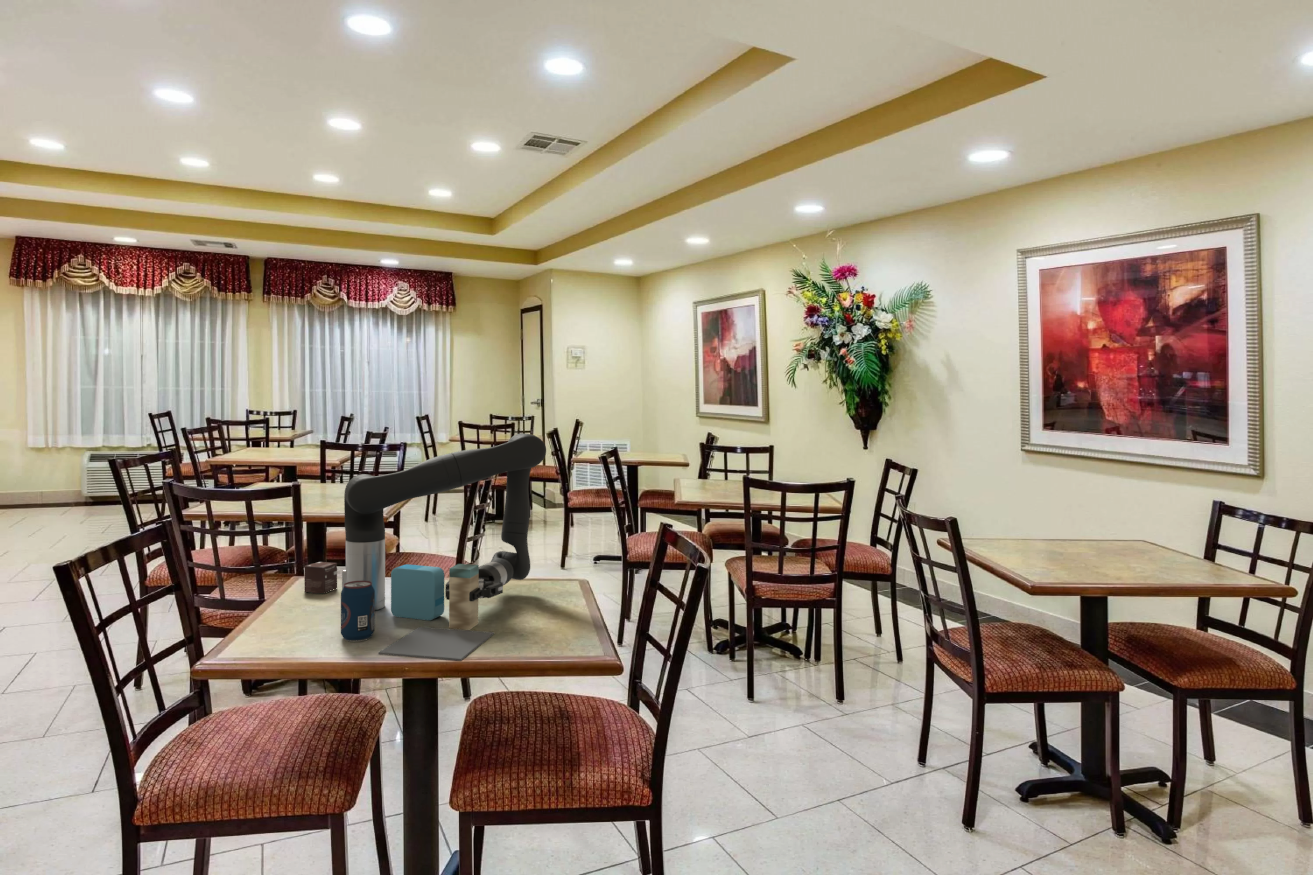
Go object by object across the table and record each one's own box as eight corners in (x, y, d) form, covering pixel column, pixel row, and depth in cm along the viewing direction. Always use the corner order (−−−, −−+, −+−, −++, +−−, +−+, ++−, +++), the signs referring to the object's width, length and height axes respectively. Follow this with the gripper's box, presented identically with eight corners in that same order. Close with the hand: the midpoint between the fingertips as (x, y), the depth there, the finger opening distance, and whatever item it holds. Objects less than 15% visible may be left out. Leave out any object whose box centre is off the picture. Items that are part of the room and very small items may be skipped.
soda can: (336, 636, 169) (336, 582, 168) (369, 630, 173) (369, 578, 172) (345, 644, 163) (345, 588, 163) (378, 638, 168) (378, 584, 167)
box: (323, 594, 203) (323, 567, 203) (303, 593, 204) (303, 565, 204) (337, 589, 209) (337, 562, 209) (318, 587, 210) (318, 561, 210)
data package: (444, 616, 186) (444, 567, 185) (434, 621, 181) (434, 571, 181) (401, 611, 189) (401, 563, 188) (390, 616, 185) (390, 567, 184)
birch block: (449, 628, 176) (449, 568, 175) (458, 622, 181) (458, 563, 180) (469, 629, 175) (470, 569, 174) (478, 623, 180) (478, 564, 179)
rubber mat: (378, 654, 158) (378, 652, 158) (419, 628, 176) (419, 626, 175) (461, 660, 155) (461, 658, 155) (494, 633, 173) (494, 632, 173)
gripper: (460, 562, 193) (429, 578, 176) (515, 565, 190) (489, 581, 174) (460, 592, 193) (429, 610, 176) (514, 595, 191) (488, 614, 174)
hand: (459, 596), depth 175 cm, fingers closed on birch block, 5 cm apart
